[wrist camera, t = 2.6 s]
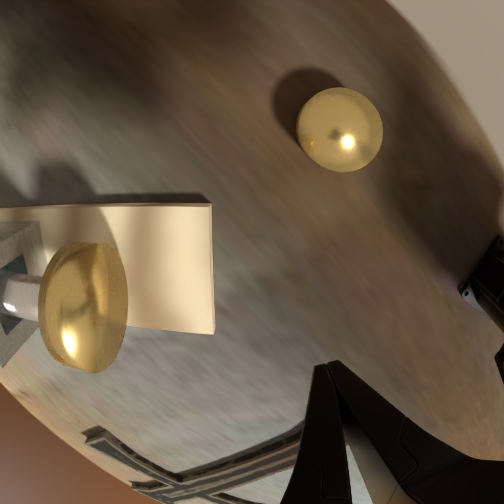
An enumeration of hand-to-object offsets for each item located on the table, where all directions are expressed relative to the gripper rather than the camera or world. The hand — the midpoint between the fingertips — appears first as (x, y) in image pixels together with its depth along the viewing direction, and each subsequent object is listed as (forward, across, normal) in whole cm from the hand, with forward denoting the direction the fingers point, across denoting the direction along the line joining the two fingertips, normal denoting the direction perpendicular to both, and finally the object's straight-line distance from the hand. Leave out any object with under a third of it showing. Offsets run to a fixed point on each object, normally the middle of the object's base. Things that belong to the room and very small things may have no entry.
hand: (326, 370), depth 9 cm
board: (+14, +16, -1) cm, 21 cm away
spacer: (+12, -5, -6) cm, 15 cm away
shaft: (+13, +19, -2) cm, 23 cm away
